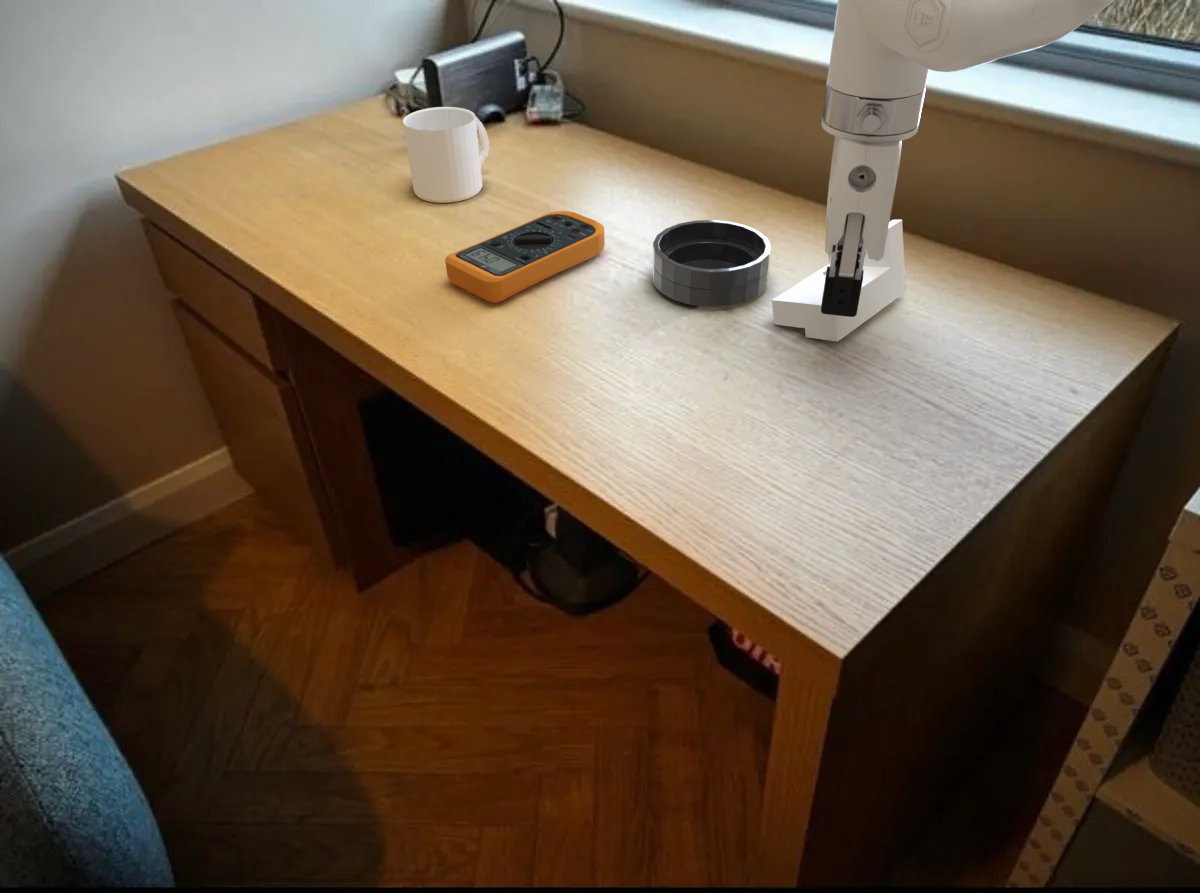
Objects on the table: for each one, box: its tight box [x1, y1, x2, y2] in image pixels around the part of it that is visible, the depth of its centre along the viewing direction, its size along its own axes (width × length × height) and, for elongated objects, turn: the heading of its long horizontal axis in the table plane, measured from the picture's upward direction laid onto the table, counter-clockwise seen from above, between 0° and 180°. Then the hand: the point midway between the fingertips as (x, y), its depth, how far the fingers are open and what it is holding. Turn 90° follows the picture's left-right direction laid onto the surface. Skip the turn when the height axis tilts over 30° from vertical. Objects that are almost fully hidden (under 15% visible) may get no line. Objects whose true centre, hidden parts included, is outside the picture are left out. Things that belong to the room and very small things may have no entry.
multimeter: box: [444, 210, 606, 304], centre depth 100 cm, size 9×18×3 cm, turn 136°
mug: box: [402, 106, 490, 204], centre depth 117 cm, size 12×9×9 cm
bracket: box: [771, 219, 907, 342], centre depth 90 cm, size 13×7×8 cm, turn 136°
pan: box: [651, 219, 772, 308], centre depth 96 cm, size 12×12×4 cm
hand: (838, 310), depth 83 cm, fingers closed
